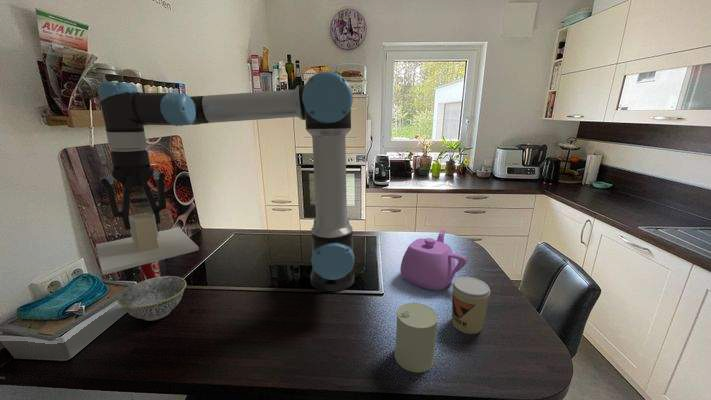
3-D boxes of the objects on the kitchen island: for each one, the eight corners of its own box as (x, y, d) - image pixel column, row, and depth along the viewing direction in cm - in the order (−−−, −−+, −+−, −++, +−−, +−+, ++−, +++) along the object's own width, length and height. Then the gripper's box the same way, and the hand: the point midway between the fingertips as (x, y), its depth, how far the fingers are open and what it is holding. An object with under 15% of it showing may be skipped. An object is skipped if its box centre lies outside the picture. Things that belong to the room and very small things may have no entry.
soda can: (153, 292, 95) (146, 257, 92) (139, 290, 96) (132, 256, 93) (166, 283, 100) (160, 250, 97) (153, 282, 101) (147, 249, 98)
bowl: (174, 291, 96) (171, 270, 94) (200, 309, 87) (196, 286, 85) (114, 317, 83) (108, 293, 81) (136, 341, 74) (130, 315, 72)
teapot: (455, 303, 90) (459, 258, 86) (393, 282, 102) (395, 241, 98) (474, 273, 108) (479, 234, 104) (420, 258, 120) (423, 222, 116)
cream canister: (441, 318, 83) (445, 280, 80) (467, 310, 87) (471, 273, 84) (465, 340, 75) (470, 298, 72) (493, 330, 79) (499, 290, 76)
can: (390, 343, 74) (392, 301, 71) (427, 341, 75) (430, 299, 72) (399, 374, 65) (401, 327, 62) (440, 371, 66) (444, 325, 63)
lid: (198, 250, 80) (194, 218, 78) (102, 275, 67) (94, 237, 64) (179, 230, 94) (174, 203, 92) (96, 247, 81) (89, 216, 79)
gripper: (165, 146, 82) (177, 226, 88) (82, 150, 71) (102, 242, 77) (172, 148, 77) (184, 233, 83) (83, 153, 65) (105, 251, 71)
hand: (145, 237), depth 80 cm, fingers closed on lid, 4 cm apart
